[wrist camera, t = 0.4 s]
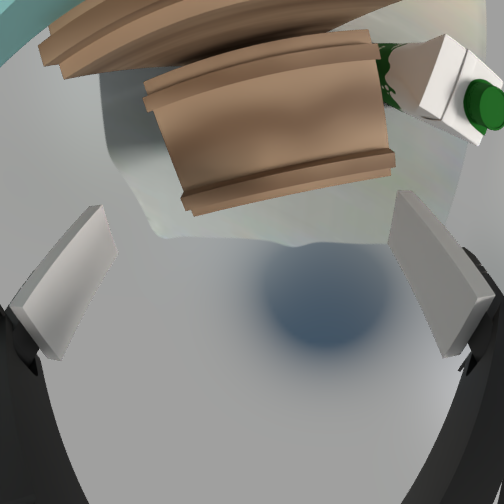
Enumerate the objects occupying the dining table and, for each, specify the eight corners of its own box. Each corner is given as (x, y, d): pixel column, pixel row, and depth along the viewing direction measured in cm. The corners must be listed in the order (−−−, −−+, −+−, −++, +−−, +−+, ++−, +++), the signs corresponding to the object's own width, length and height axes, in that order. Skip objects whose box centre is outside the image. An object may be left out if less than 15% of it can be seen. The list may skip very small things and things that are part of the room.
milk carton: (404, 115, 35) (492, 163, 19) (349, 88, 34) (421, 113, 17) (424, 65, 30) (523, 84, 14) (370, 34, 29) (454, 21, 12)
